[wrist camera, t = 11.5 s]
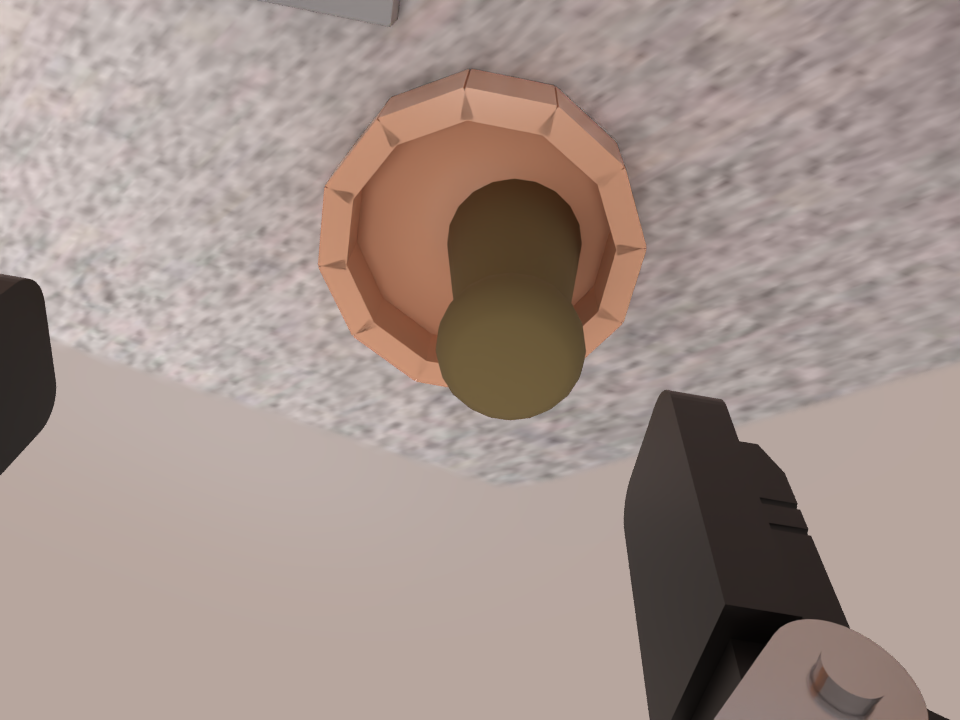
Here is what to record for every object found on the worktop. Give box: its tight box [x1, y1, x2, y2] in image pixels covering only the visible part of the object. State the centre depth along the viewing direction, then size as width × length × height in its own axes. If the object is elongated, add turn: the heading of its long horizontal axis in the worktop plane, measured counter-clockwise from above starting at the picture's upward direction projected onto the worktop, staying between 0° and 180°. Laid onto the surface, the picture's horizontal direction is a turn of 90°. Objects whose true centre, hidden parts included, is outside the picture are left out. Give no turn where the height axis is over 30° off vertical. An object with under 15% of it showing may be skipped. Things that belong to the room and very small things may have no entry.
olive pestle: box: [436, 179, 586, 420], centre depth 31 cm, size 6×6×11 cm
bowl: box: [318, 69, 646, 387], centre depth 35 cm, size 13×13×4 cm
